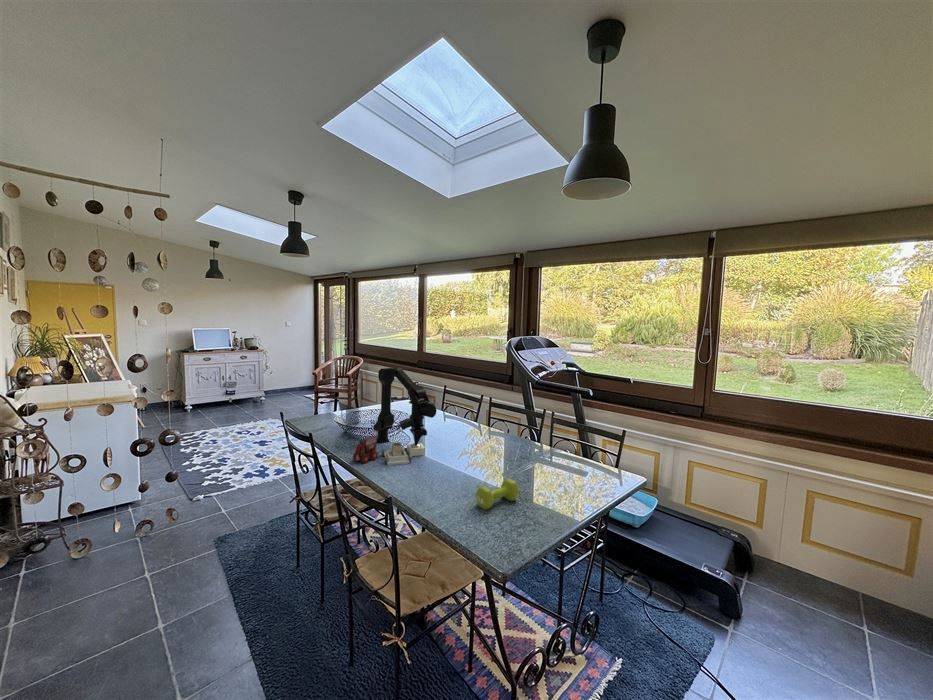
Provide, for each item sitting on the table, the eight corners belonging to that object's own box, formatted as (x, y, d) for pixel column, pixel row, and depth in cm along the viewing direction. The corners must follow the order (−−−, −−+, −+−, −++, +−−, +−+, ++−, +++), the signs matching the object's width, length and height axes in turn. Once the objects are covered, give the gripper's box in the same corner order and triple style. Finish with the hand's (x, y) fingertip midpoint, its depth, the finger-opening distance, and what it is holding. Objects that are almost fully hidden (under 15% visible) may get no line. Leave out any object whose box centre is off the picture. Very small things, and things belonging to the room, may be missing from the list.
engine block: (391, 456, 168) (392, 442, 168) (400, 455, 170) (400, 441, 169) (392, 459, 164) (393, 445, 164) (401, 458, 166) (402, 444, 165)
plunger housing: (406, 451, 178) (407, 444, 178) (421, 449, 181) (421, 443, 181) (409, 456, 172) (410, 449, 171) (424, 455, 174) (425, 448, 174)
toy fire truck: (349, 462, 162) (349, 439, 161) (370, 454, 172) (370, 433, 171) (359, 466, 158) (360, 443, 157) (380, 457, 168) (381, 436, 167)
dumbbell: (486, 514, 123) (487, 494, 123) (472, 503, 130) (473, 484, 129) (520, 502, 133) (521, 483, 132) (506, 493, 139) (507, 475, 139)
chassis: (381, 454, 172) (381, 448, 172) (405, 452, 177) (406, 446, 176) (385, 465, 159) (385, 459, 159) (411, 463, 163) (411, 456, 163)
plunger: (411, 450, 177) (411, 443, 177) (418, 449, 179) (418, 442, 178) (412, 452, 174) (413, 445, 173) (420, 452, 175) (420, 445, 175)
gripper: (397, 409, 181) (396, 439, 182) (404, 419, 163) (403, 452, 164) (419, 408, 185) (417, 437, 186) (428, 418, 167) (426, 450, 168)
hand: (415, 444), depth 176 cm, fingers closed, pressing on plunger
